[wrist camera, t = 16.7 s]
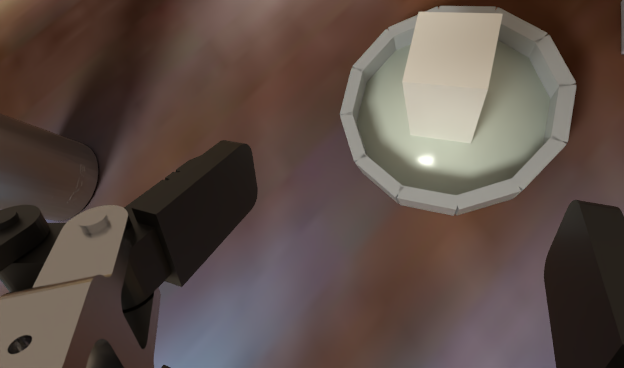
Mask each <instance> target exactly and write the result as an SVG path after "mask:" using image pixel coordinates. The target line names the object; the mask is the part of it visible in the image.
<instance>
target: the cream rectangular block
mask: <svg viewBox="0 0 624 368" xmlns="http://www.w3.org/2000/svg"><path fill="white" fill-rule="evenodd" d="M502 15H503V14H500V13H454V12H418V16H417V21H416V25H415V29H414V33H413V38H412V42H411V46H410V50H409V55H408V59H407V63H406V67H405V72H404V76H403V80H402V84H403V91H404V97H405V104H406V110H407V117H408V123H409V129H410V135H413V136H420V137H428V138H435V139H442V140H449V141H456V142H463V143H471V142H472V139H473V135H474V132H475V129H476V126H477V123H478V119H479V116H480V113H481V110H482V107H483V103H484V100H485V97H486V94H487V91H488V86H489V81H490V76H491V71H492V66H493V61H494V56H495V51H496V46H497V41H498V36H499V31H500V25H501V20H502Z"/></svg>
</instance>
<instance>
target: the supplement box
mask: <svg viewBox="0 0 624 368" xmlns="http://www.w3.org/2000/svg"><path fill="white" fill-rule="evenodd" d="M621 54H624V0H622V1H621Z"/></svg>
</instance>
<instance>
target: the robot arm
mask: <svg viewBox="0 0 624 368" xmlns="http://www.w3.org/2000/svg"><path fill="white" fill-rule="evenodd" d="M97 180H98V163H97V159H96V156H95V154H94V153H93V151H92V150H91V149H90V148H89V147H88V146H86V145H84V144H82V143H80V142H77V141H74V140H71V139H68V138H66V137H63V136H60V135H57V134H55V133H52V132H50V131H47V130H44V129H41V128H39V127H36V126H33V125H30V124H27V123H25V122H22V121H19V120H16V119H14V118H11V117H8V116H5V115H3V114H0V280H1V281H2V282H3V284H4V285H5V286H6V288H7V289H8V290H9V292H10V293H6V294H4V295H2V296H1V297H0V368H154V360H153V359H154V349H155V340H156V332H157V323H158V315H159V307H160V298H161V294H160V290H159V288H158V287H159V286H160V285H161V284H162V283H163V282H164V281H166V282H169V283H172V284H175V285H178V286H180V287H182V286H183V285H184V284H185V283H186V282H187V281H188V280H189V278H190V277H191V276H192V275H193V274H194V273H195V272H196V271H197V270H198V268H199V267H200V266H201V265H202V264H203V263H204V262H205V261H206V260H207V258H208V257H209V256H210V255H211V254H212V253H213V252H214V251H215V249H216V248H217V247H218V246H219V245H220V244H221V243H222V242H223V241H224V239H225V238H226V237H227V236H228V235H229V234H230V233H231V232H232V230H233V229H234V228H235V227H236V226H237V225H238V224H239V223H240V222H241V220H242V219H243V218H244V217H245V216H246V215H247V214H248V213H249V211H250V210H251V209H252V208H253V206H254V204H255V202H256V199H257V183H256V176H255V169H254V163H253V156H252V151H251V148H250V146H249V145H247V144H244V143H238V142H232V141H226V140H223V141H220V142H219V143H217V144H216V145H215V146H213V147H212V148H211V149H209V150H208V151H207V152H205V153H204V154H203V155H201V156H199V157H196V158H194V159H191V160H189V161H188V162H186V163H185V164H183V165H182V166H181V167H179V168H178V169H177V170H176V172H172V173H171V174H170V175H168V176H167V177H166V178H165V180H162V181H160V182H159V183H157V184H156V185H155V186H153V187H152V188H151V189H149V190H148V191H146V192H145V193H144V194H142V195H141V196H140V197H138V198H137V199H136V200H134V201H133V202H131V203H130V204H129V205H127V206H126V207H125V208H123V207H120V206H116V205H106V206H99V207H95V208H92V209H89V210H86V211H84V212H82V213H80V214H78V213H79V212H80V211H81V210H82V209H83V208H84V207H85V206H86V205H87V203H88V202H89V200H90V198H91V197H92V195H93V192H94V190H95V187H96V184H97ZM76 214H78V215H76ZM75 215H76V216H75ZM73 216H75V217H73ZM71 217H73V218H72V219H71V220H69V221H68V222H67V223H47V222H46V220H54V221H63V220H67V219H69V218H71ZM45 219H46V220H45ZM544 282H545V289H546V296H547V303H548V310H549V318H550V325H551V332H552V339H553V347H554V354H555V361H556V368H624V216H623V214H622V212H621V210H620V209H619V208H618V207H614V206H609V205H603V204H597V203H591V202H585V201H579V200H574V201H572V202H571V203H570V205H569V207H568V208H567V211H566V213H565V215H564V218H563V220H562V222H561V224H560V227H559V229H558V231H557V234H556V236H555V238H554V240H553V243H552V245H551V247H550V250H549V252H548V255H547V258H546V262H545V269H544ZM162 368H170V367H168V366H166V365H163V366H162Z"/></svg>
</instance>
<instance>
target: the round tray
mask: <svg viewBox="0 0 624 368" xmlns="http://www.w3.org/2000/svg"><path fill="white" fill-rule="evenodd" d="M495 8H496V7H492V6H440V7H439V9H438V7H435V8H432V9H430V10H428V11H425V12H454V13H500V14H503V15H502V20H501V25H500V31H499V36H498V41H497V46H496V51H495V56H494V61H493V66H492V71H491V76H490V81H489V86H488V91H487V94H486V97H485V100H484V103H483V107H482V110H481V113H480V116H479V119H478V123H477V126H476V129H475V132H474V135H473V139H472V142H471V143H463V142H456V141H449V140H442V139H435V138H428V137H420V136H413V135H410V129H409V123H408V117H407V110H406V104H405V97H404V91H403V84H402V80H403V76H404V72H405V67H406V63H407V59H408V55H409V50H410V46H411V42H412V38H413V33H414V29H415V25H416V21H417V16H418V15H416V16H414V17H412V18H409V19H407V20H405V21H402V22H400V23H398V24H395V25H393V26H391V27H388V30H387V29H386V30H385V31H384V32H383V33H382V34H381V35H380V36H379V37H378V39H377V40H376V41H375V42H374V43H373V44H372V45H371V46H370V47H369V49H368V50H367V51H366V52H365V53H364V54H363V55H362V56H361V57H360V59H359V60H358V61H357V62H356V63H355V64H354V65H353V68H351V72H350V76H349V80H348V84H347V88H346V92H345V96H344V100H343V104H342V108H341V112H340V115H341V116H340V117H341V121H342V124H343V127H344V130H345V133H346V137H347V140H348V143H349V146H350V150H351V153H352V156H353V159H354V162H355V163H356V165H357V166H358V167H359V169H360V170H361V172H362V173H363V174H364V175H366V176H367V177H368V178H369V179H370V180H371V181H373V182H374V183H375V184H376V185H377V186H378V187H379V188H381V189H382V190H383V191H384V192H385V193H386V194H388V195H389V196H390V197H391V198H392V199H393V200H395V201H396V202H397V203H398V204H399V203H400V205H403V206H408V207H413V208H418V209H423V210H428V211H433V212H438V213H443V214H448V215H452V216H454V214H456V216H457V215H460V214H464V213H467V212H470V211H474V210H477V209H480V208H484V207H487V206H491V205H494V204H497V203H501V202H504V201H507V200H511V199H513V198H514V197H516V196H517V195H518V194H519V193H520V192H521V191H522V190H524V188H525V187H526V186H527V185H528V184H529V183H530V182H531V181H532V180H533V179H534V178H535V177H536V176H537V175H538V174H539V173H540V172H541V171H542V170H543V169H544V167H545V166H546V165H547V164H548V163H549V162H550V161H551V160H552V159H553V158H554V157H555V156H556V155H557V154H558V153H559V152H560V151H561V150H562V149H563V147H564V146H565V145H566V143H567V142H568V138H569V131H570V125H571V118H572V112H573V105H574V99H575V92H576V85H575V83H576V82H575V80H574V78H573V76H572V74H571V73H570V71H569V69H568V67H567V65H566V64H565V62H564V60H563V58H562V56H561V55H560V53H559V51H558V49H557V47H556V46H555V44H554V42H553V40H552V38H551V37H550V35H548V36H547V32H545V31H543V30H541V29H539V28H537V27H535V26H533V25H531V24H529V23H528V22H526V21H524V20H522V19H520V18H518V17H516V16H514V15H512V14H510V13H508V12H507V11H505V10H503V9H501V8H499V7H498V8H497V9H496V10H495Z"/></svg>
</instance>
